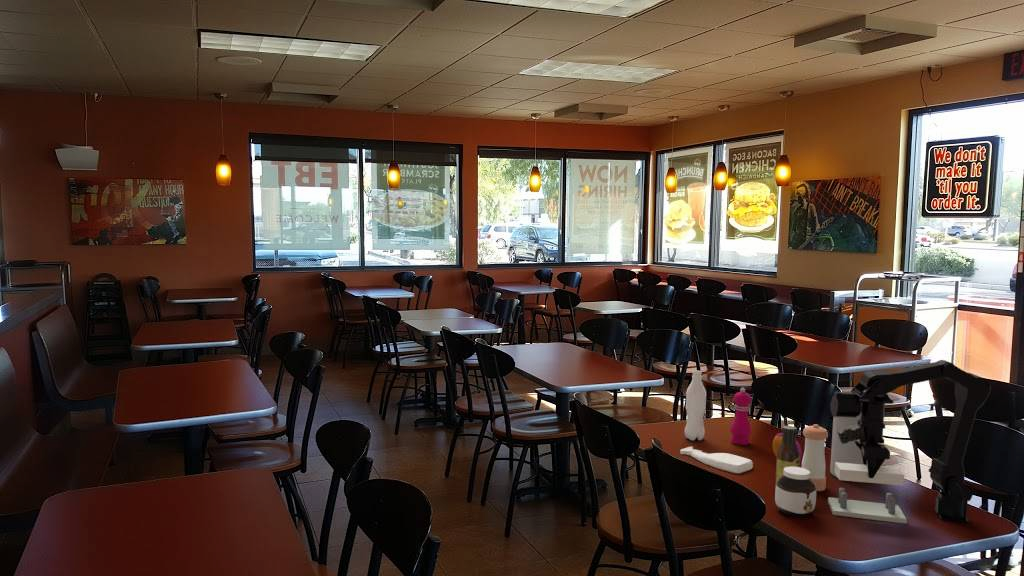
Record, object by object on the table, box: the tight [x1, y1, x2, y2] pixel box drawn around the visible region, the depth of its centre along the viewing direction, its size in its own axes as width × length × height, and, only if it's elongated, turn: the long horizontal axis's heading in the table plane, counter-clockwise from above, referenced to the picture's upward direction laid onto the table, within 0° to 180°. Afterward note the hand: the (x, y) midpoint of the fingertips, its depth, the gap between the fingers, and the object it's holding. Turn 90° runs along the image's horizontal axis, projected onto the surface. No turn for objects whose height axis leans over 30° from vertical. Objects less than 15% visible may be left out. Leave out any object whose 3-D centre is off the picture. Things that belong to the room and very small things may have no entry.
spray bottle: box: [679, 446, 754, 474], centre depth 242 cm, size 3×11×24 cm
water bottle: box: [684, 369, 707, 441], centre depth 265 cm, size 7×7×25 cm
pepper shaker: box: [801, 423, 829, 492], centre depth 219 cm, size 7×7×19 cm
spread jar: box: [774, 466, 817, 518], centre depth 202 cm, size 12×11×12 cm
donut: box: [772, 432, 802, 460], centre depth 240 cm, size 8×9×10 cm
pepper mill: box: [729, 387, 752, 446], centre depth 262 cm, size 7×7×20 cm
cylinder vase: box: [829, 413, 863, 483], centre depth 228 cm, size 12×12×25 cm
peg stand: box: [827, 487, 907, 524], centre depth 201 cm, size 18×10×5 cm, turn 74°
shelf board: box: [835, 462, 905, 486], centre depth 200 cm, size 16×6×3 cm, turn 77°
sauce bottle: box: [775, 425, 801, 485], centre depth 212 cm, size 7×6×20 cm
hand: (868, 473), depth 200 cm, fingers closed on shelf board, 6 cm apart
